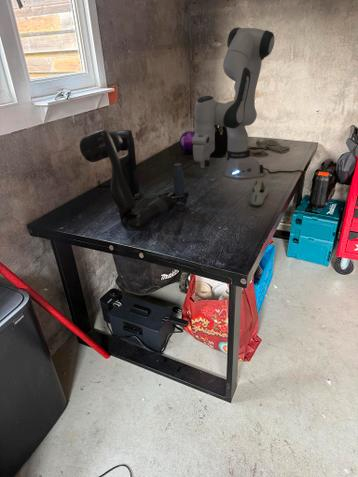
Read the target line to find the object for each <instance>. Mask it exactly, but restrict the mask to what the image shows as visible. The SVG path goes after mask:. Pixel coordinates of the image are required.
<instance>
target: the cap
mask: <svg viewBox="0 0 358 477" xmlns="http://www.w3.org/2000/svg"><path fill="white" fill-rule="evenodd" d="M204 162H205V167H204V168H207V167H210V165H211V164H210V159H209V160H205V161H204ZM199 164H200V163H199ZM200 167H201V164H200Z"/></svg>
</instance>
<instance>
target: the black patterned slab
mask: <svg viewBox="0 0 358 477" xmlns="http://www.w3.org/2000/svg"><path fill="white" fill-rule="evenodd" d="M215 128H216V125H215ZM227 148H228V136H227V128H226V127H225V126H218V128H217V129H215V150H214V151H213V152H212V153H211V154H210V157H214V158H222V157H224V156H226V152H227Z"/></svg>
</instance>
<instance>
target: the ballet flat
mask: <svg viewBox="0 0 358 477" xmlns="http://www.w3.org/2000/svg"><path fill="white" fill-rule="evenodd" d="M268 194H269V189H268V186H267V183H266V182H265V181H264V180H262V179H257V180H255V181H254V182H253V184H252V187H251V190H250V196H249V204H250V205H251V206H252V207H260V206H261V205H263V203H264V201H265V198H266V196H267V195H268Z"/></svg>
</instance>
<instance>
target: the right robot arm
mask: <svg viewBox="0 0 358 477" xmlns="http://www.w3.org/2000/svg"><path fill="white" fill-rule="evenodd" d="M226 44H227V45H226V46H227V51H226V53H225V56H224V58H223V62H222V69H223V72H224V74H225V75H226V77H228V78H229V79H230V80H232V81H234V87H233V89H234V98H233V100H230V101H227V102H225V103H224V102H219V101H217V100H215V97H213V96H212V95H205V96H200V97H199V98H197V99H196V101H195V105H194V120H195V126H194V132H195V134H194V137H193V138H192V143H193V144H194V145H193V153H192V156H193V160H194V162H197V163H199V164H201V166H200V168H201V169H204V168H206V167H205V162H204V161H205V160H209V161H210V158H211V156H210V154H211V153H212V152H213V151H214V150H215V126H214V125H218V127H219V126H225V127H226V128H227V136H228V148H227V152H226V154H225V159H226V165H225V169H224V172H223V174H224V176H225V177H228V178H232V179H233V178H234V179H237V180H243V179H250V178H258V177H259V178H260V177H263V176H264V175H265V172H264V170H265V171H267V172H268V173H269V174H277V173H298V172H300V173H302V174H305V171H304V170H301V169H297V170H295V169H294V170H277V171H270V169H268V168H265V167H264V165H263V164H260V162H259V161H258V160H257V159H256V158H255V157H254V156H251V155H252V154H253V152H252V151H251V150H249V149H247V146H249V144H248V143H249V134H248V132H247V129H246V127H249V126H251V125H253V124H255V121H256V120H257V116H258V113H257V109H256V102H255V101H256V92H257V90H256V89H257V85H258V82H259V78H260V74H261V69H262V62H263V61H264V59H265V58H267V57H268V56H269V55H271V53H272V51H273V49H274V46H275V35H274V32H272V31H270V30H267V29H265V30H264V29H261V28H255V27H252V28H251V27H239V26H238V27H234V28H232V29H231V30H230V31H229V33H228V36H227V43H226Z"/></svg>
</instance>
